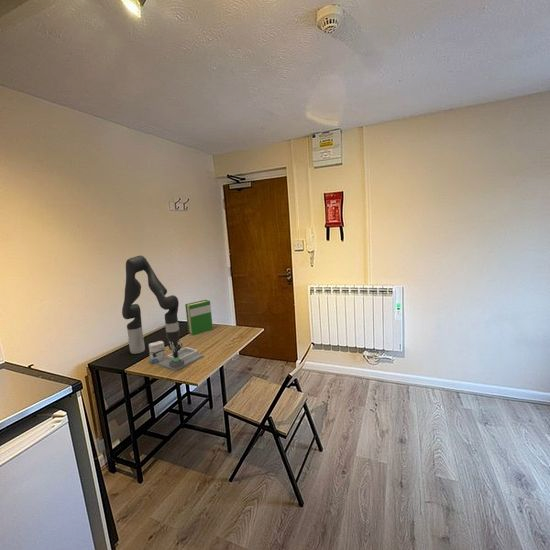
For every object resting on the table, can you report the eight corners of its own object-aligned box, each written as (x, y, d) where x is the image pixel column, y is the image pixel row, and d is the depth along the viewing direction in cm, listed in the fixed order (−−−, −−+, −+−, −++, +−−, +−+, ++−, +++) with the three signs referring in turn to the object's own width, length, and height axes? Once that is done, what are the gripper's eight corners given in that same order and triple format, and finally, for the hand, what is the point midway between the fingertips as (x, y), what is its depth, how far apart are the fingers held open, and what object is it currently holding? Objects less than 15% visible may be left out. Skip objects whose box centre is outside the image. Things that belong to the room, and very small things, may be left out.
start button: (172, 363, 181) (171, 357, 181) (177, 361, 184) (176, 355, 184) (176, 364, 179) (175, 359, 179) (180, 362, 182) (180, 356, 182)
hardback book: (192, 335, 235) (189, 305, 231) (188, 333, 240) (185, 304, 236) (212, 329, 246) (210, 301, 242) (208, 327, 251) (205, 299, 247)
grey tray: (157, 365, 187) (157, 358, 186) (186, 351, 204) (186, 346, 204) (175, 371, 177) (174, 365, 176) (203, 356, 195) (203, 351, 194)
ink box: (152, 364, 189) (150, 346, 187) (150, 361, 193) (148, 343, 191) (166, 359, 194) (164, 342, 192) (164, 357, 198) (161, 340, 196)
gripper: (160, 329, 179) (163, 357, 182) (174, 333, 171) (177, 361, 174) (171, 325, 185) (174, 352, 188) (184, 329, 177) (188, 356, 180)
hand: (175, 357), depth 181 cm, fingers closed
